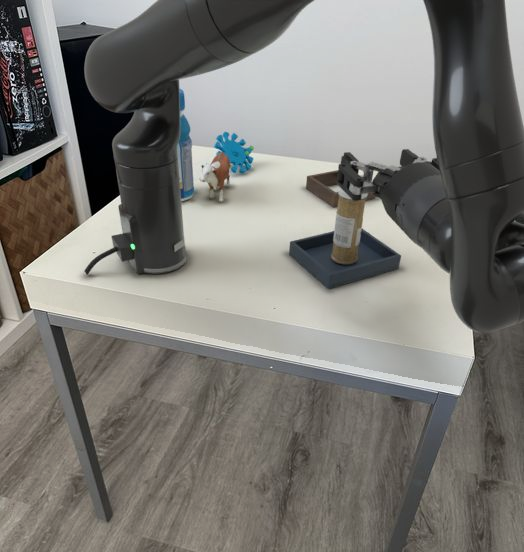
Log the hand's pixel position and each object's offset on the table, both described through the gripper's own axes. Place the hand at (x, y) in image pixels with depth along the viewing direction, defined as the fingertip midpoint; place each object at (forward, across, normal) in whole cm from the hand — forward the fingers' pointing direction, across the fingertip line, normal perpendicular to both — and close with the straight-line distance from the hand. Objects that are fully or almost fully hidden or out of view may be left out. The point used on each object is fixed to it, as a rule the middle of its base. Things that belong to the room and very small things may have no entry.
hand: (374, 157), depth 72 cm
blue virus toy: (+51, +10, +20) cm, 56 cm away
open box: (+33, -9, +20) cm, 40 cm away
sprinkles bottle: (+6, 0, +19) cm, 20 cm away
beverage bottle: (+38, +25, +20) cm, 50 cm away
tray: (+6, 0, +20) cm, 21 cm away
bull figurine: (+37, +16, +20) cm, 45 cm away
